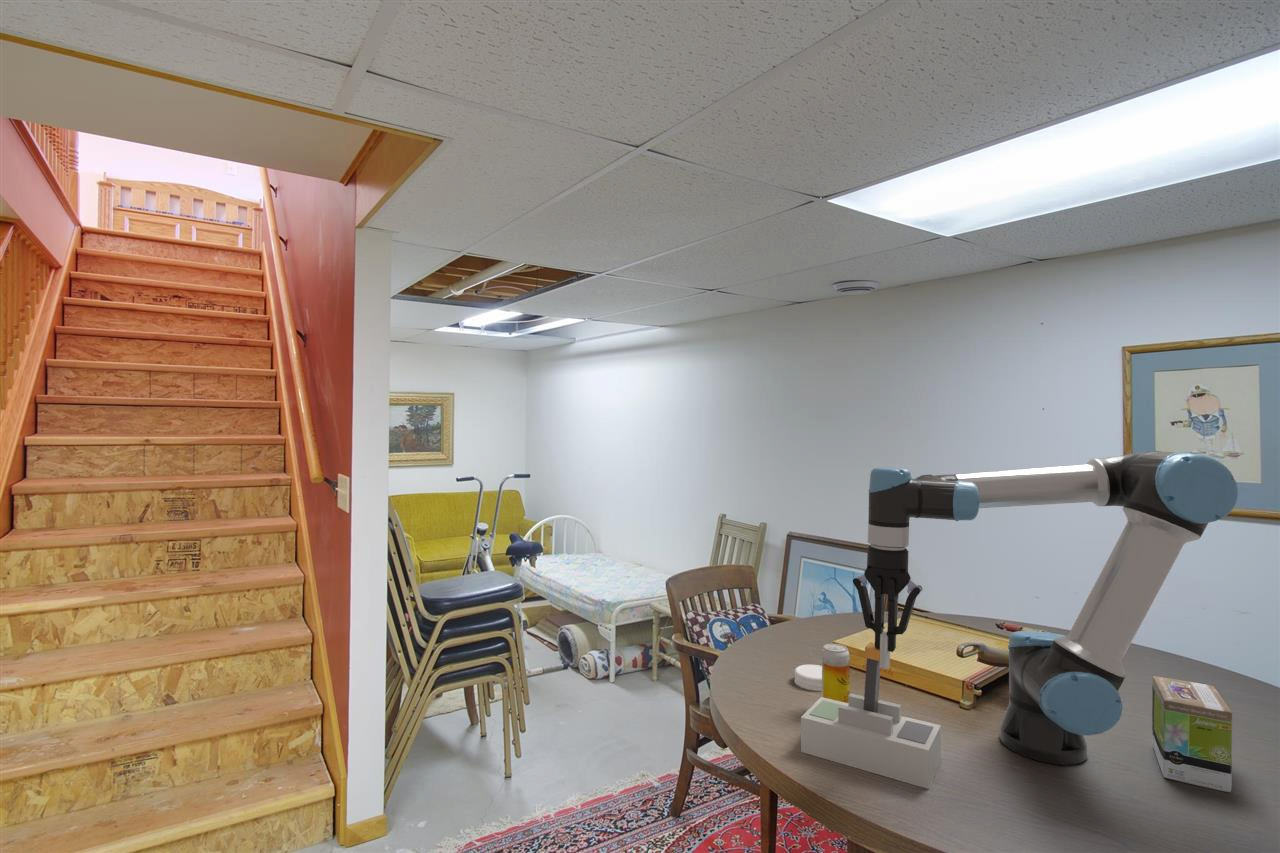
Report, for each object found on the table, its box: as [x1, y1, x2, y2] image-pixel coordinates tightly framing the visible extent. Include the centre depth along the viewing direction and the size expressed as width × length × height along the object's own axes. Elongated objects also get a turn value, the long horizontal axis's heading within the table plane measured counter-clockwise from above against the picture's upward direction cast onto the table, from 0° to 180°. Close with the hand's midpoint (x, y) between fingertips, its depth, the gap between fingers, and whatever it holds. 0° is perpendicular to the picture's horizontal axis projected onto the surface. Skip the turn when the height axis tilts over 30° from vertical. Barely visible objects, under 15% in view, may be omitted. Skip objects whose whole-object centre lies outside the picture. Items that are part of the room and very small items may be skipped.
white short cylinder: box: [794, 664, 822, 692], centre depth 165 cm, size 10×10×4 cm
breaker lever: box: [863, 641, 882, 713], centre depth 128 cm, size 3×4×14 cm
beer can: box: [821, 643, 851, 703], centre depth 148 cm, size 6×6×15 cm
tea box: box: [1151, 675, 1233, 793], centre depth 124 cm, size 15×10×15 cm
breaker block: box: [800, 693, 942, 790], centre depth 128 cm, size 24×12×10 cm, turn 55°
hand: (884, 666), depth 127 cm, fingers closed
